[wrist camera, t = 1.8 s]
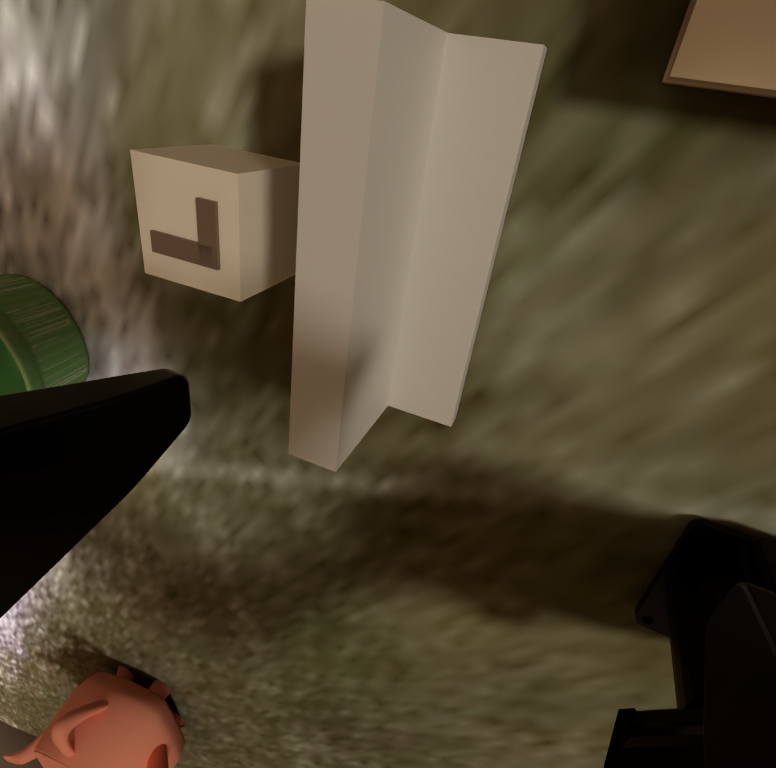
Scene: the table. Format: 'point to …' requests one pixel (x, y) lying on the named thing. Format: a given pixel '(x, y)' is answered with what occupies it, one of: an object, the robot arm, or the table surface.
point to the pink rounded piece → (110, 727)
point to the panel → (726, 47)
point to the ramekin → (37, 339)
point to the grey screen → (396, 214)
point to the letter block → (217, 217)
